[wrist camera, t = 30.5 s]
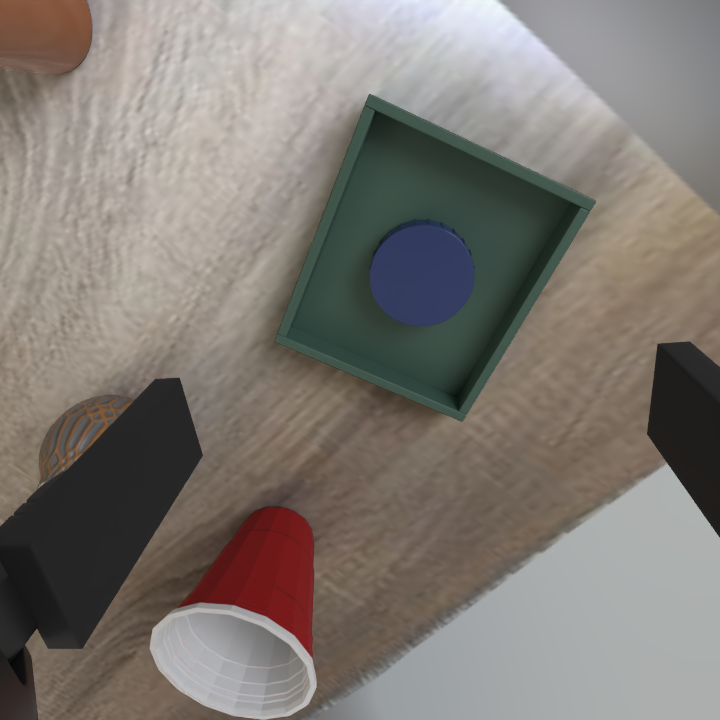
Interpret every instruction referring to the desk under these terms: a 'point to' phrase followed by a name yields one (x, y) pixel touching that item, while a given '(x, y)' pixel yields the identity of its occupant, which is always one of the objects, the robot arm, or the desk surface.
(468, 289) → the jar lid
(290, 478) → the desk surface
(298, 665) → the plastic cup
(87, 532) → the robot arm
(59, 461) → the vase
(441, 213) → the tray
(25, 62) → the jam jar
